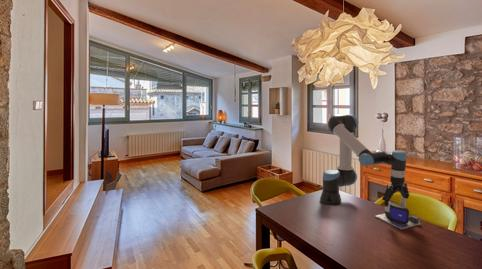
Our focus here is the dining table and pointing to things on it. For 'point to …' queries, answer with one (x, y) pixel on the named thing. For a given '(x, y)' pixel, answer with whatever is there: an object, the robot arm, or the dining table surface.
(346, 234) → the dining table surface
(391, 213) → the small display screen
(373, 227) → the dining table surface
